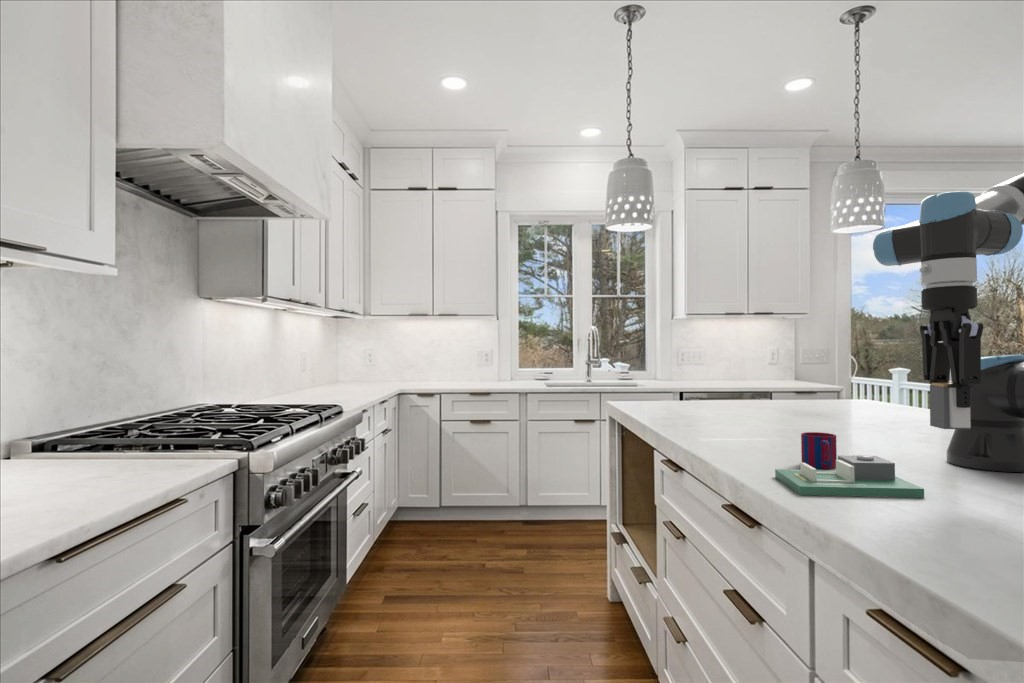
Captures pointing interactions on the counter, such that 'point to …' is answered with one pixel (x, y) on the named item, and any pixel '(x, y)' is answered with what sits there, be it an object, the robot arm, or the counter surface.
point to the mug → (819, 450)
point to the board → (843, 483)
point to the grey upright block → (941, 406)
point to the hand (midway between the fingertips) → (951, 425)
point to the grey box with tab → (870, 467)
